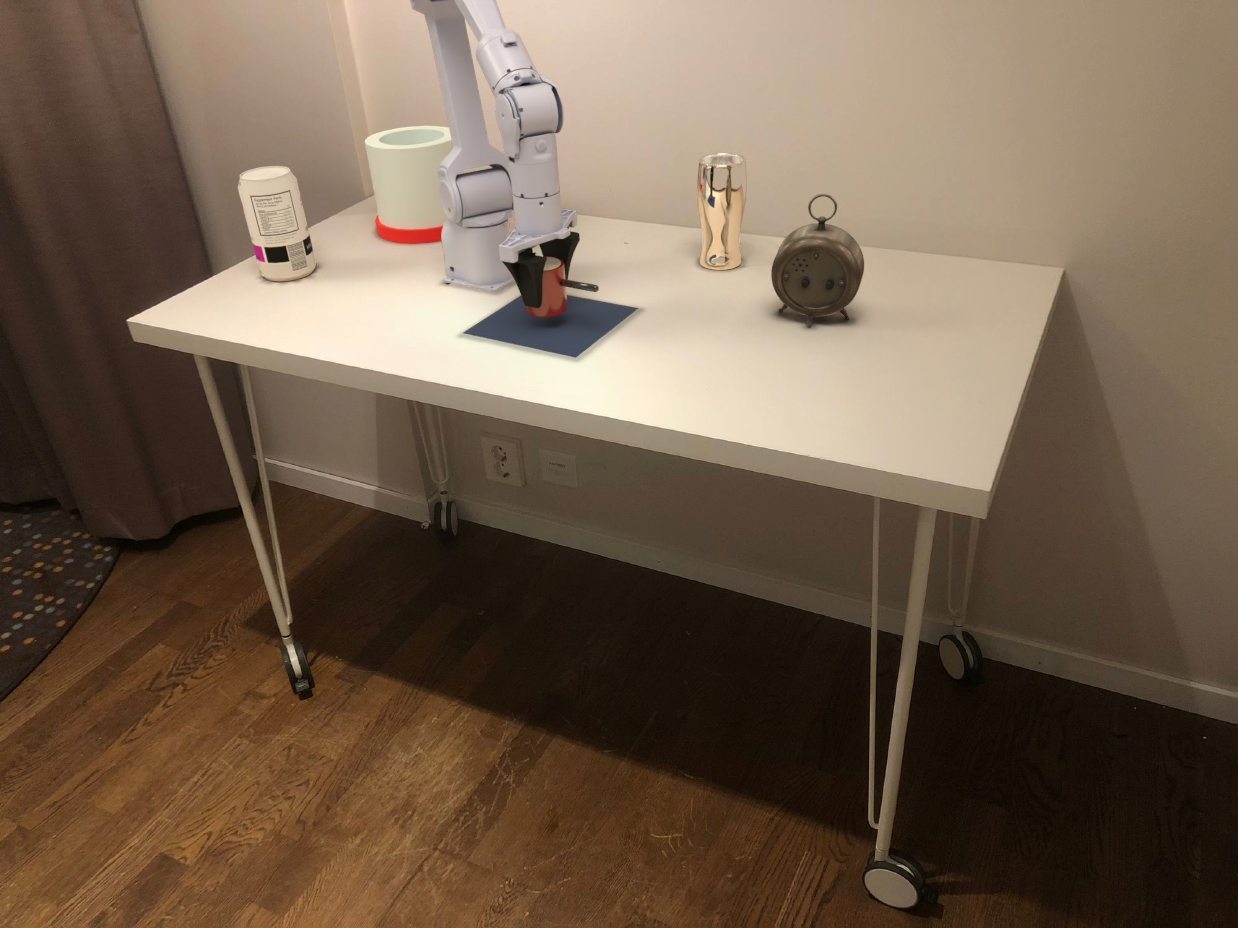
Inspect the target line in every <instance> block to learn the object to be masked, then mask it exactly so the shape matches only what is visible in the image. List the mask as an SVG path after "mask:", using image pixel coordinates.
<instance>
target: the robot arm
mask: <svg viewBox="0 0 1238 928" xmlns="http://www.w3.org/2000/svg"><path fill="white" fill-rule="evenodd" d="M409 3H410V6H411V9H412V10H413V11H416V12H418V13H420V14H422V15H424V16H423V17H424V20H425V23H426V26H427V27H426V28H427V30H428V34H429V38H430V43H431V48H432V54H433V57H434V62H435V68H436V72H437V77H438V82H439V87H440V92H441V96H442V101H443V105H444V111H445V116H446V121H447V123H448V125H447V126H448V128H449V130H450V135H451V139H452V144H453V148H452V150H451V151H450V153H449V154H448V155H447V156H446V157H445V159H444V160H443V161H442V162H441V164H440V165H439V167H438V178H439V195H440V200H441V204H442V207H443V210H444V212H445V214H446V216H447V217H448V219H447V220H446V222H445V223H444V225H443V229H442V235H441V240H440V241H441V247H442V253H443V260H444V267H445V275H446V277H444V278H443V282H444V283H446V284H452V285H457V286H461V287H462V286H463V287H468V288H473V289H479V290H483V291H489V292H495V293H496V292H498V291H500V290H502V289H504V288H505V287H506V286H508V285H510V284H512V283H514V282H515V284H516V287H517V289H518V292H519V294H520V296H522V299H523V302H524V304H525V306H528V307H533V308H539V307H541V303H542V276H543V270H544V266H545V263H546V260H547V257H543V256H550V257H557V258H560V259H562V260H563V261H564V267H565V279H567V280H569V273H570V268H571V263H572V260H573V257H574V254H575V252H576V249H577V246H578V244H579V243H580V240H581V238H580V233H579V232H576V231H571V228H576V227H577V226H578V225H579V223H578V210H573V209H569V208H567V209H566V208H562V201H561V199H562V198H561V188H560V187H561V185H560V173H559V160H558V158H559V157H558V146H557V135H556V134H559V133H560V132H561V131H562V129H563V126H564V121H565V116H564V115H565V113H564V105H563V101H562V96H561V94H560V91H559V90H558V87H557V85H556V84H555V83H554V82H553V81H551V80H550V79H548V78H547V77H546V75H545V74H540V73H539V72H538V69H537V68H536V66H535V64H534V61H533V60H532V57H531V56H530V53H529V51H528V50H527V47H526V45H525V43H524V41H523V39H522V37H521V36H520V34H519V32H517V31H516V30H513V29H512V28H511V29H510V28H507V27H506V24H505V21H504V19H503V16H502V13H501V10H500V8H499V5H498V3H497V0H409ZM467 25H468V26H469V28H470V29H471V32H472V33H473V35H474V37H475V38H476V40H477V41H478V43H477V46H476V49H475V58H476V62H477V63H478V65H479V67H480V69H481V71H482V73H483V76H484V78H485V80H486V82H487V84H488V87H489V88H490V91H491V93H492V96H493V97H494V99H495V110H494V113H495V115H494V116H495V120H496V124H497V127H498V130H499V132H500V133H499V134H500V136H501V141H502V142H501V143H502V148H503V151H502V150H500V149H498V148H497V147H495V146H493V145H491V144H490V142H489V141H490V140H489V137H488V132H487V126H486V121H485V116H484V110H483V106H482V101H481V95H480V91H479V86H478V80H477V75H476V69H475V64H474V59H473V54H472V50H471V44H470V40H469V35H468V30H467ZM486 166H489V167H490V168H489V167H488V168H485V169H479V170H473V171H468V172H464V173H463V174H458V173H459V172H460V171H462V170H463V171H465V170H469V169H474V168H475V169H476V168H480V167H486ZM513 212H514V214H513ZM513 215H514V223H515V227H514V228H513V229H512V231H510V222H509V220H510V219H512V218H513ZM537 246H538V247H539V248H540V251H541V254H542V255H537V254H536V252H534V250H533V249H535V248H536V247H537Z"/></svg>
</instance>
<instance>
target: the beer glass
mask: <svg viewBox="0 0 1238 928" xmlns="http://www.w3.org/2000/svg"><path fill="white" fill-rule="evenodd" d="M747 176H748V175H747V158H746V157H745V156H744V155H743V154H739V153H733V152H716V153H708V154H704V155H702V156H701V157H699V158H698V167H697V178H696V179H697V180H696V202H697V209H698V216H699V221H700V227H701V234H702V235H701V236H702V245H701V251H700V257H699V264H700V266H701V267H703V268H705V269H709V270H714V271H727V270H732V269H735V268H738V267H739V266H740V265H741V264H742V254H741V249H740V247H741V246H740V233H741V228H742V222H743V218H744V214H745V209H746V201H747V193H748V192H747V191H748V190H747V189H748V178H747Z"/></svg>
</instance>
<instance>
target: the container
mask: <svg viewBox="0 0 1238 928" xmlns="http://www.w3.org/2000/svg"><path fill="white" fill-rule="evenodd" d="M364 147H365V152H366V157H367V162H368V163H367V164H368V168H369V173H370V178H371V185H372V190H373V195H374V201H375V207H376V212H377V215H376V217H375V219H374V221H375V227H376V232H377V234H378V236H379V237H380V238H382V239H384V240H385V241H389V242H394V243H398V244H423V243H424V244H426V243H427V244H428V243H433V242H439V241H442V240H441V235H442V229H443V225H444V223H445V222H446V220H447V219H448V217H447V216H446V214H445V212H444V210H443V207H442V204H441V200H440V195H439V178H438V167H439V165H440V164H441V162H442V161H443V160H444V159H445V157H446V156H447V155H448V154H449V153H450V151H451V150H452V148H453V144H452V139H451V135H450V130H449V126H448V127H447V126H439V125H415V126H414V125H413V126H403V127H396V128H391V129H387V130H382V131H379V132H376V133H372V134H371V135H369V136H367V137H366V138H365V140H364ZM463 173H465V172H464V170H462V171H460V172H459V173H458V174H463Z"/></svg>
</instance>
